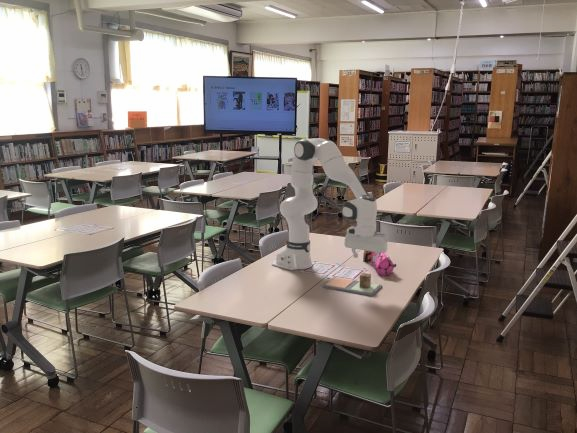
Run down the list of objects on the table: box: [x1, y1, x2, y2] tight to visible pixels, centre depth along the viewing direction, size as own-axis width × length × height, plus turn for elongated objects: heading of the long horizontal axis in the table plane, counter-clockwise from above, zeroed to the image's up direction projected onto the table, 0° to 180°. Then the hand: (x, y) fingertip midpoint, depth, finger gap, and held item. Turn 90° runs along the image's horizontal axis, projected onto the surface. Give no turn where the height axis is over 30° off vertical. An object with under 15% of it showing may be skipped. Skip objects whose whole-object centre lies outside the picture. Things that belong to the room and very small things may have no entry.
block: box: [359, 272, 372, 289], centre depth 230 cm, size 4×4×6 cm
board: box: [322, 276, 383, 297], centre depth 234 cm, size 25×14×1 cm, turn 61°
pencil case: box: [370, 252, 397, 276], centre depth 258 cm, size 21×10×10 cm, turn 4°
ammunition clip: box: [362, 250, 372, 263], centre depth 274 cm, size 11×2×12 cm, turn 119°
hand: (365, 259), depth 228 cm, fingers open, 8 cm apart
